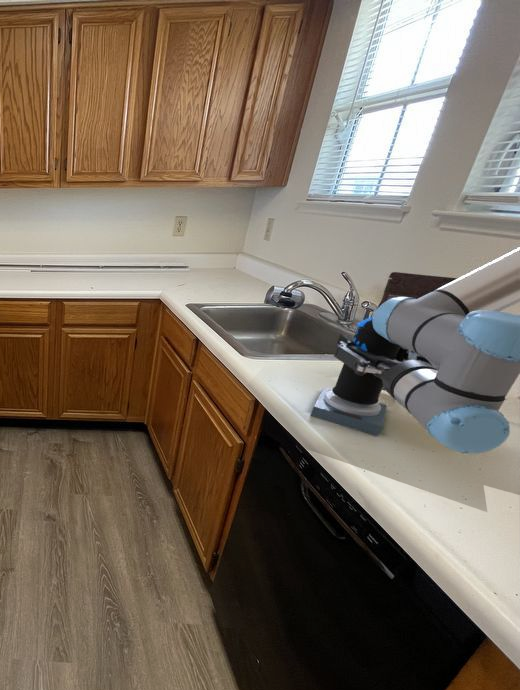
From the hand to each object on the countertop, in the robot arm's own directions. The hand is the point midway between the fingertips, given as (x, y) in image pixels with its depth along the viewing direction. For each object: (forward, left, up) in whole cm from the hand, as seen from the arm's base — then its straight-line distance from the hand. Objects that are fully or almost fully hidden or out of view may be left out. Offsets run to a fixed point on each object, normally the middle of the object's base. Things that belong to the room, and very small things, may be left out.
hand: (363, 341), depth 91 cm
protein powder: (-8, -19, -16) cm, 26 cm away
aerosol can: (-2, +4, -11) cm, 12 cm away
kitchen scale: (-2, +5, -15) cm, 16 cm away
